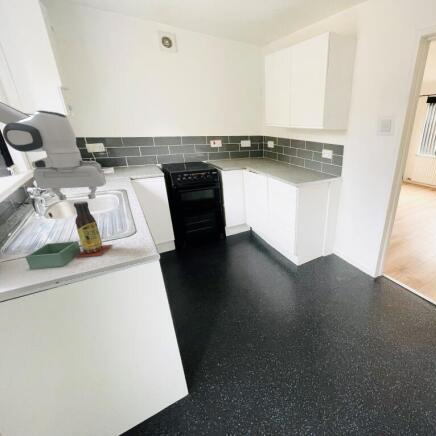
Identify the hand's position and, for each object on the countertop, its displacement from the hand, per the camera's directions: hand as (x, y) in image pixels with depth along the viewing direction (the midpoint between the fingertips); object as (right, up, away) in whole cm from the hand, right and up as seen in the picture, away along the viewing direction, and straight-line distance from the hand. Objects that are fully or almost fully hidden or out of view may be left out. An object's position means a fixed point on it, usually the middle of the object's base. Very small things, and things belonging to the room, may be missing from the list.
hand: (78, 199), depth 90 cm
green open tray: (-9, -23, +1) cm, 24 cm away
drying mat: (0, -20, +7) cm, 22 cm away
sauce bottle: (0, -20, +7) cm, 21 cm away
